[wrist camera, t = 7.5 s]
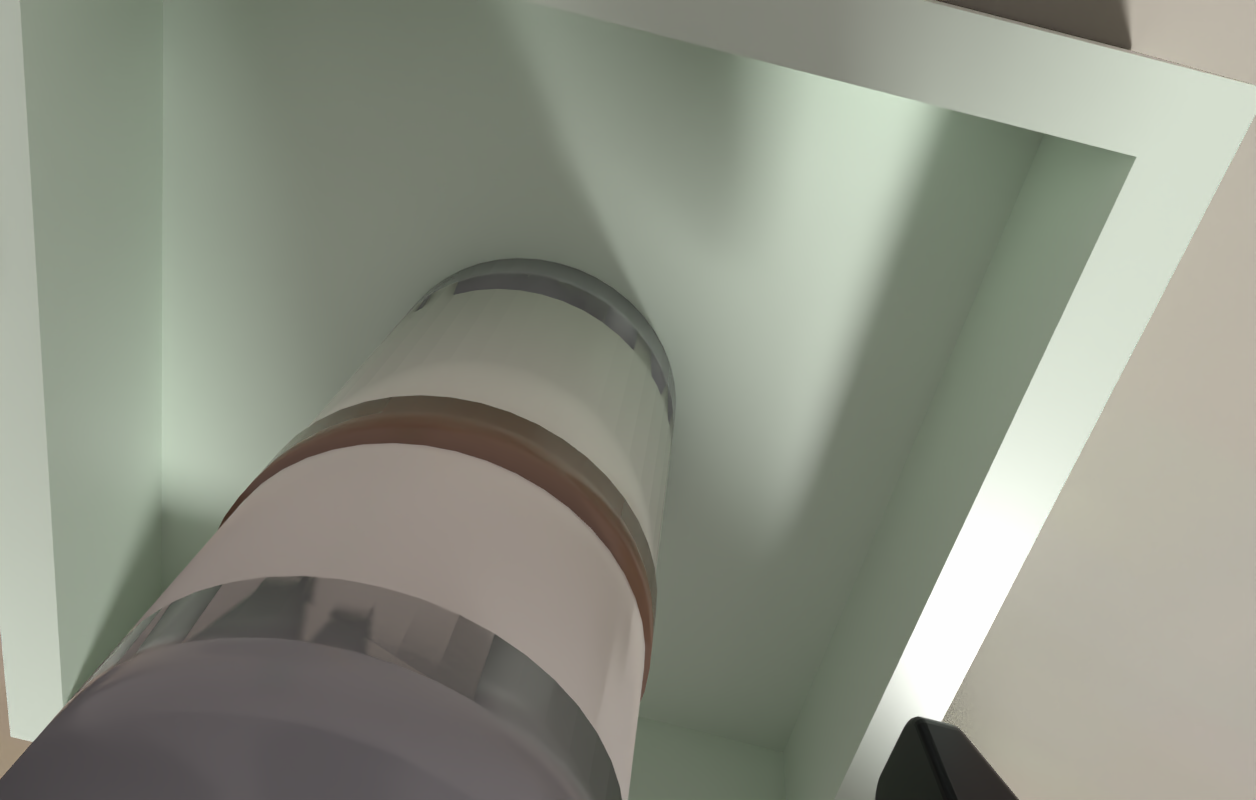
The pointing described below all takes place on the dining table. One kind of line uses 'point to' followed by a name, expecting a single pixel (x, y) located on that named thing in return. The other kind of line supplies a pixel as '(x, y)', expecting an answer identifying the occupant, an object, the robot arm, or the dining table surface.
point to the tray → (628, 262)
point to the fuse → (413, 578)
